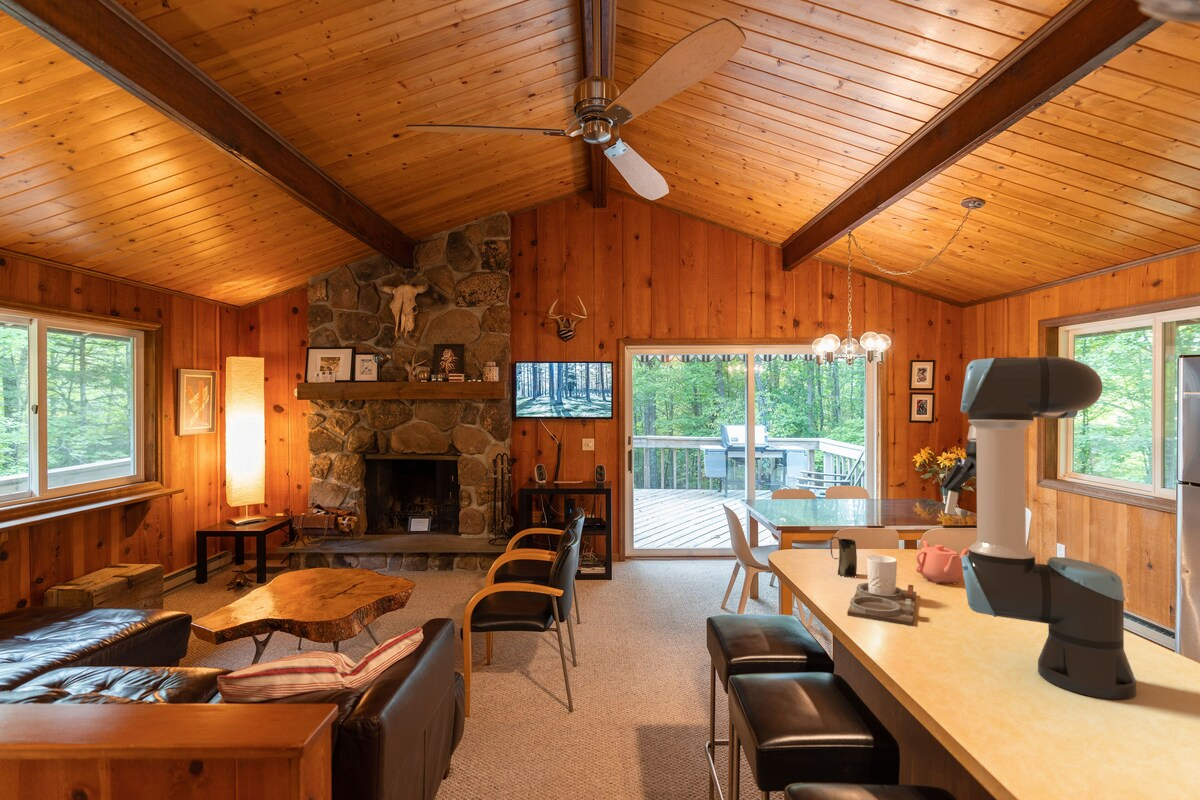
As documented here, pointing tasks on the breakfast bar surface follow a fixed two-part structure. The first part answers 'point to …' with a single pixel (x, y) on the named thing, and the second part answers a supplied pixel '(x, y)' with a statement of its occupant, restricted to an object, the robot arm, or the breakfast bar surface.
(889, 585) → the white cup
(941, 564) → the teapot
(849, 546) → the mug
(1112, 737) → the breakfast bar surface
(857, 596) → the board
